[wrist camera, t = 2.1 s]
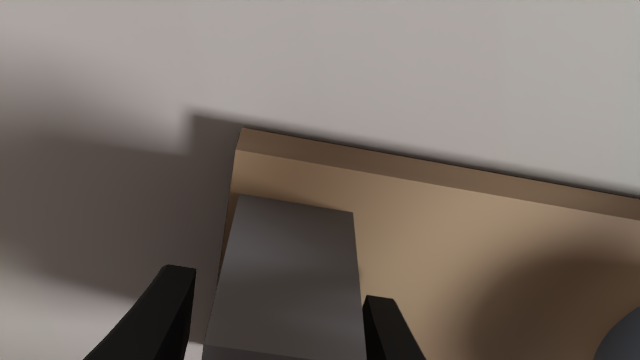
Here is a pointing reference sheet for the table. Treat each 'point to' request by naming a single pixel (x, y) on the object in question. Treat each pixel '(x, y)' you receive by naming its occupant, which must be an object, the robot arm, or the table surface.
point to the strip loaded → (414, 257)
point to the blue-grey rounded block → (622, 340)
